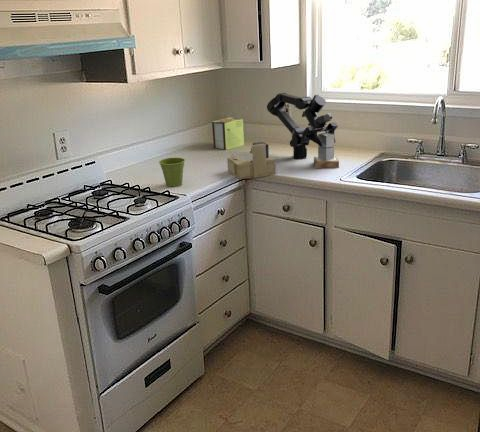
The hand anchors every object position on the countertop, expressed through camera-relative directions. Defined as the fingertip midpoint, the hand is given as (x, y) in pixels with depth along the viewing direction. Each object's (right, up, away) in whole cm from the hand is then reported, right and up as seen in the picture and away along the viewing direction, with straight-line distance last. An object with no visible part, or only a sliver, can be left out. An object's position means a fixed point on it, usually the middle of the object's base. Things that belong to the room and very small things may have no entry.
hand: (328, 144), depth 259 cm
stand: (0, -9, +5) cm, 11 cm away
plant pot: (-72, -21, -15) cm, 77 cm away
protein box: (-49, +6, +54) cm, 73 cm away
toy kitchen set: (-37, -14, -2) cm, 40 cm away
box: (-32, -9, +12) cm, 35 cm away
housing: (0, -6, +4) cm, 7 cm away
